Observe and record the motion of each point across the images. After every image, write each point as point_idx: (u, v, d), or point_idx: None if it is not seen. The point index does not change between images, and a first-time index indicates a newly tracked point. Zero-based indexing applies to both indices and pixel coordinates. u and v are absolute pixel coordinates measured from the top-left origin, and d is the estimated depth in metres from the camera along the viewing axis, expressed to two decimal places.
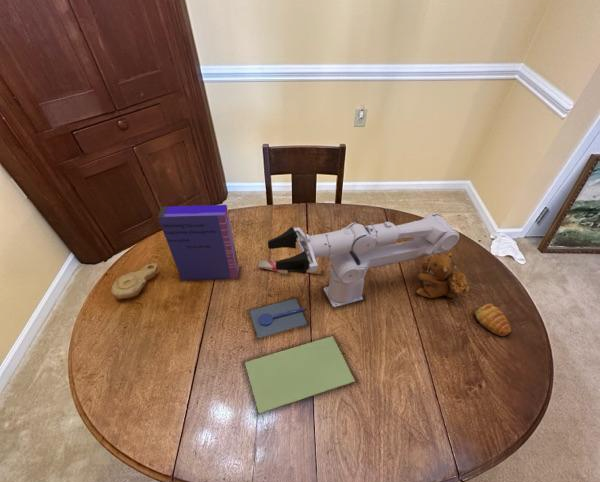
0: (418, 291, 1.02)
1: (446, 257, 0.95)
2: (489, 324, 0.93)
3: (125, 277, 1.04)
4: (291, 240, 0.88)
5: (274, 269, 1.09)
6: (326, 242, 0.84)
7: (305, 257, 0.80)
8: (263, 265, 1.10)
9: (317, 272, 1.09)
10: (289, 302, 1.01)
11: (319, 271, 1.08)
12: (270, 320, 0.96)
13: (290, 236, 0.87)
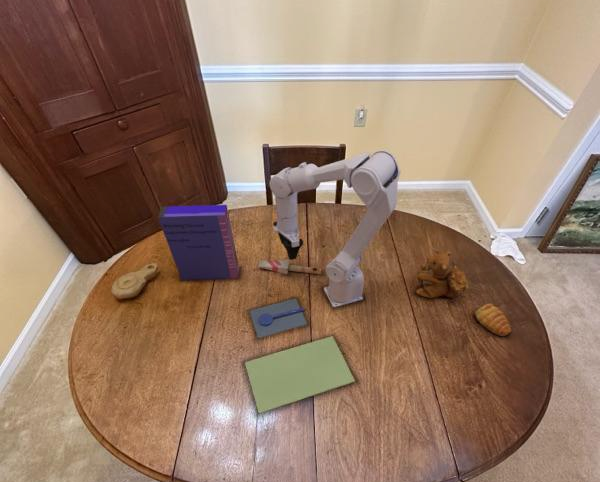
0: (418, 291, 1.03)
1: (445, 255, 0.96)
2: (489, 324, 0.93)
3: (125, 277, 1.04)
4: None
5: (274, 269, 1.09)
6: (280, 219, 0.94)
7: None
8: (263, 265, 1.10)
9: (317, 272, 1.09)
10: (289, 302, 1.01)
11: (319, 271, 1.08)
12: (270, 320, 0.96)
13: None
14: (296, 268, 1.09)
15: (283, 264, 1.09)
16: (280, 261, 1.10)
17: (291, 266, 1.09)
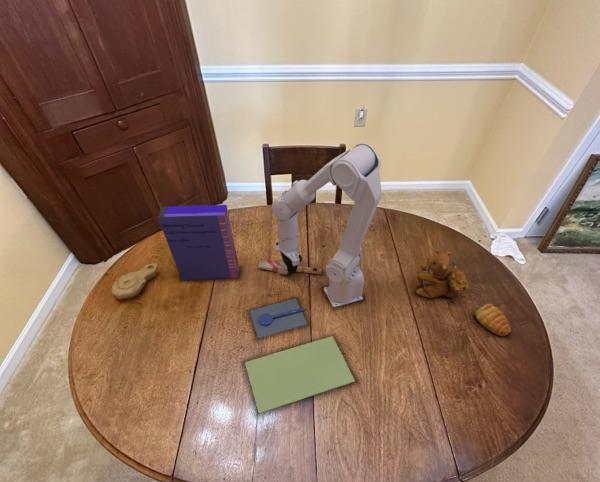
0: (418, 291, 1.03)
1: (445, 255, 0.96)
2: (489, 324, 0.93)
3: (125, 277, 1.04)
4: None
5: (274, 269, 1.09)
6: (282, 239, 0.99)
7: None
8: (263, 266, 1.10)
9: (317, 272, 1.09)
10: (289, 302, 1.01)
11: (319, 271, 1.08)
12: (270, 320, 0.96)
13: None
14: None
15: (283, 265, 1.09)
16: (280, 262, 1.10)
17: None
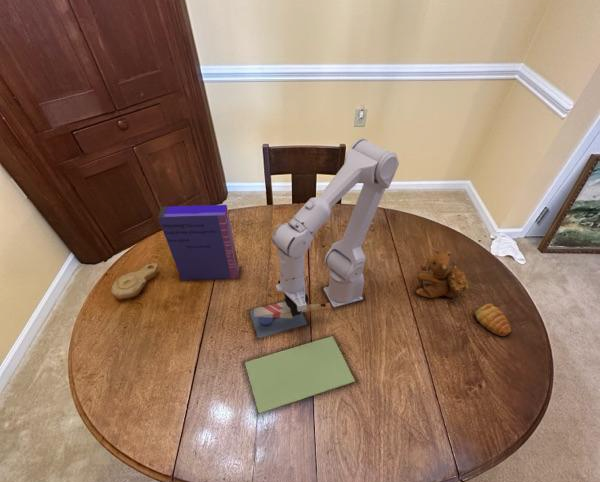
0: (418, 291, 1.03)
1: (445, 255, 0.96)
2: (489, 324, 0.93)
3: (125, 277, 1.04)
4: None
5: (275, 315, 0.89)
6: (284, 278, 0.80)
7: (287, 305, 0.83)
8: (261, 313, 0.89)
9: (326, 308, 0.91)
10: None
11: (328, 306, 0.91)
12: (270, 320, 0.96)
13: None
14: None
15: (285, 307, 0.90)
16: (279, 304, 0.91)
17: None
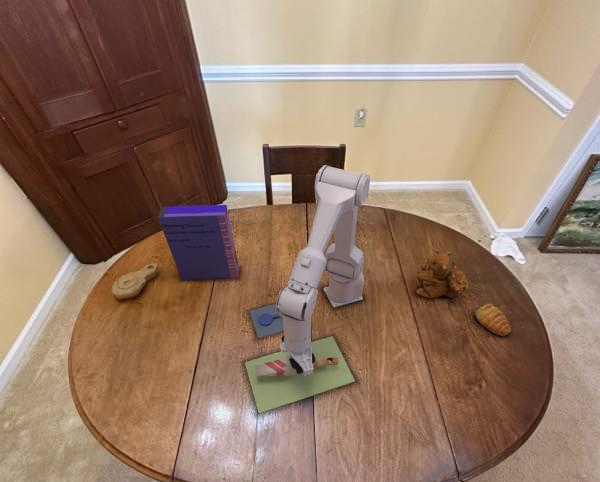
0: (418, 291, 1.03)
1: (445, 255, 0.96)
2: (489, 324, 0.93)
3: (125, 277, 1.04)
4: None
5: (279, 373, 0.82)
6: (289, 340, 0.72)
7: (292, 366, 0.76)
8: (263, 372, 0.82)
9: (334, 363, 0.84)
10: None
11: (336, 361, 0.84)
12: (270, 320, 0.96)
13: None
14: None
15: (289, 364, 0.82)
16: (282, 361, 0.83)
17: None
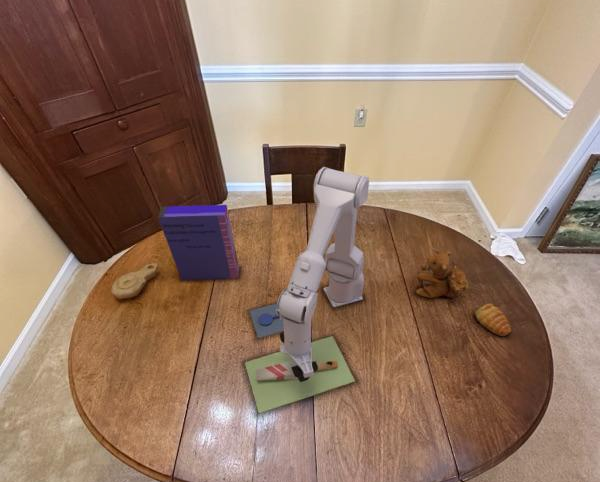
0: (418, 291, 1.03)
1: (445, 255, 0.96)
2: (489, 324, 0.93)
3: (125, 277, 1.04)
4: None
5: (279, 378, 0.83)
6: (289, 343, 0.73)
7: (294, 375, 0.75)
8: (263, 376, 0.83)
9: (333, 366, 0.85)
10: None
11: (336, 365, 0.86)
12: (270, 320, 0.96)
13: None
14: None
15: (290, 368, 0.84)
16: (283, 365, 0.85)
17: None
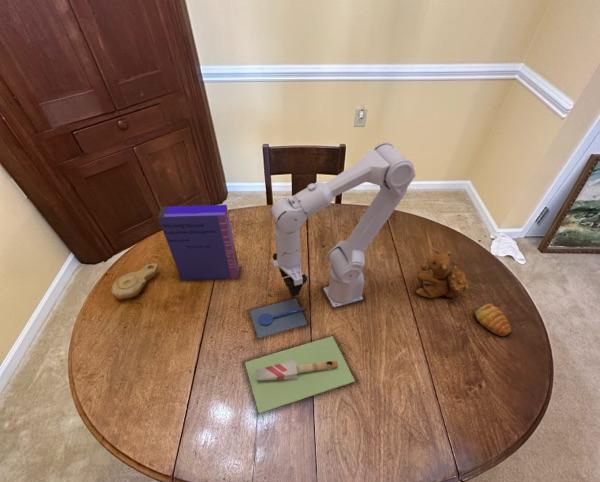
0: (418, 291, 1.03)
1: (445, 255, 0.96)
2: (489, 324, 0.93)
3: (125, 277, 1.04)
4: None
5: (279, 378, 0.83)
6: (281, 254, 0.83)
7: (286, 284, 0.85)
8: (263, 376, 0.83)
9: (333, 366, 0.85)
10: (289, 302, 1.01)
11: (336, 365, 0.86)
12: (270, 320, 0.96)
13: None
14: (307, 369, 0.85)
15: (290, 368, 0.84)
16: (283, 365, 0.85)
17: (300, 368, 0.84)
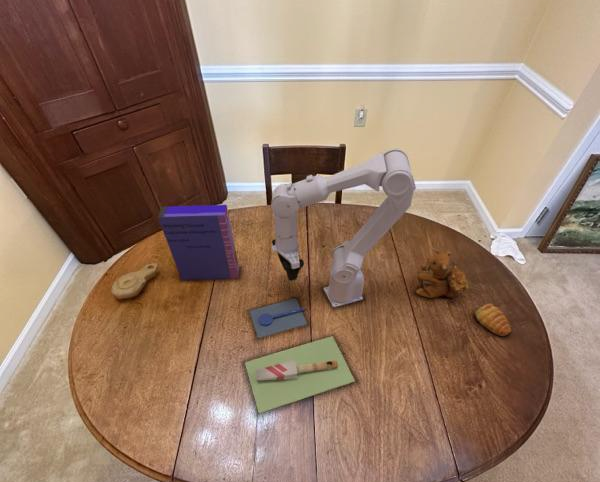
0: (418, 291, 1.03)
1: (445, 255, 0.96)
2: (489, 324, 0.93)
3: (125, 277, 1.04)
4: None
5: (279, 378, 0.83)
6: (279, 238, 0.86)
7: (284, 268, 0.89)
8: (263, 376, 0.83)
9: (333, 366, 0.85)
10: (289, 302, 1.01)
11: (336, 365, 0.86)
12: (270, 320, 0.96)
13: None
14: (307, 369, 0.85)
15: (289, 368, 0.84)
16: (283, 365, 0.85)
17: (299, 368, 0.84)
